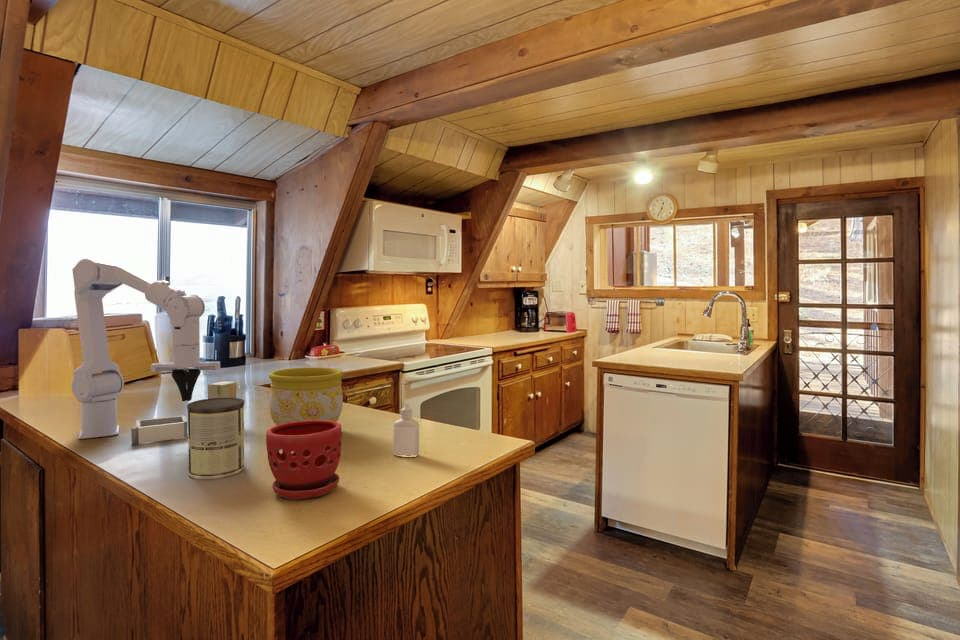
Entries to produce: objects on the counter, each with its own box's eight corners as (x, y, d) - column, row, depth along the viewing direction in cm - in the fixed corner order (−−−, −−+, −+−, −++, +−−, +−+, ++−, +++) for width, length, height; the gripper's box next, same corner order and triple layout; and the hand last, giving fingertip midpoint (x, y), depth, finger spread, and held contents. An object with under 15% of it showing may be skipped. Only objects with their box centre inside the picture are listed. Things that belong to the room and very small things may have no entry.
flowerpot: (283, 449, 120) (283, 379, 119) (259, 433, 133) (259, 370, 133) (354, 437, 131) (355, 373, 130) (326, 423, 145) (326, 365, 144)
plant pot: (348, 478, 101) (348, 417, 101) (331, 504, 88) (331, 435, 88) (281, 477, 101) (281, 417, 100) (254, 504, 88) (254, 435, 87)
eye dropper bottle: (407, 460, 113) (407, 406, 112) (390, 455, 116) (390, 402, 116) (421, 456, 116) (422, 403, 115) (405, 451, 120) (405, 399, 119)
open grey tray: (136, 436, 129) (136, 420, 129) (184, 430, 135) (184, 415, 135) (136, 443, 123) (136, 427, 123) (187, 437, 129) (187, 421, 128)
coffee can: (179, 471, 104) (178, 402, 103) (230, 459, 112) (230, 395, 111) (201, 484, 97) (200, 410, 97) (254, 470, 105) (253, 401, 105)
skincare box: (221, 431, 135) (221, 385, 134) (206, 430, 136) (206, 384, 135) (237, 425, 141) (237, 381, 141) (223, 424, 142) (223, 380, 141)
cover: (131, 444, 122) (131, 427, 122) (183, 437, 128) (183, 421, 128) (131, 445, 121) (131, 428, 121) (184, 438, 127) (184, 422, 127)
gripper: (221, 342, 131) (222, 395, 132) (156, 343, 126) (157, 398, 127) (217, 345, 124) (218, 401, 125) (148, 346, 120) (149, 404, 120)
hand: (186, 400), depth 125 cm, fingers closed
